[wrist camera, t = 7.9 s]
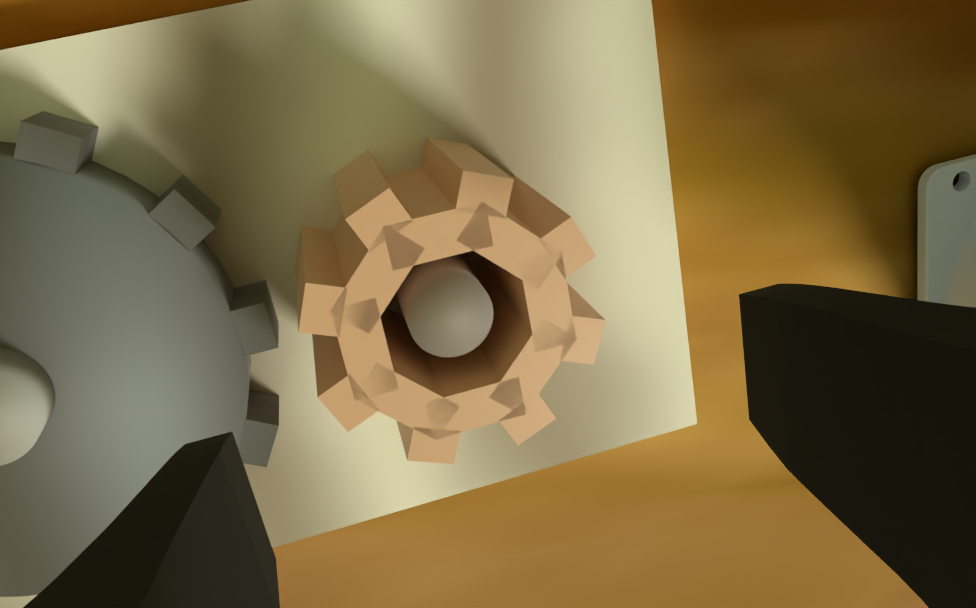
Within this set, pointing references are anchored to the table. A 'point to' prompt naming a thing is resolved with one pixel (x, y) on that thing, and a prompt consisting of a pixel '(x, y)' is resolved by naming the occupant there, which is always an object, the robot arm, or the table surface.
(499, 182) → the loose gear
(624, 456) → the table surface
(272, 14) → the gear board
